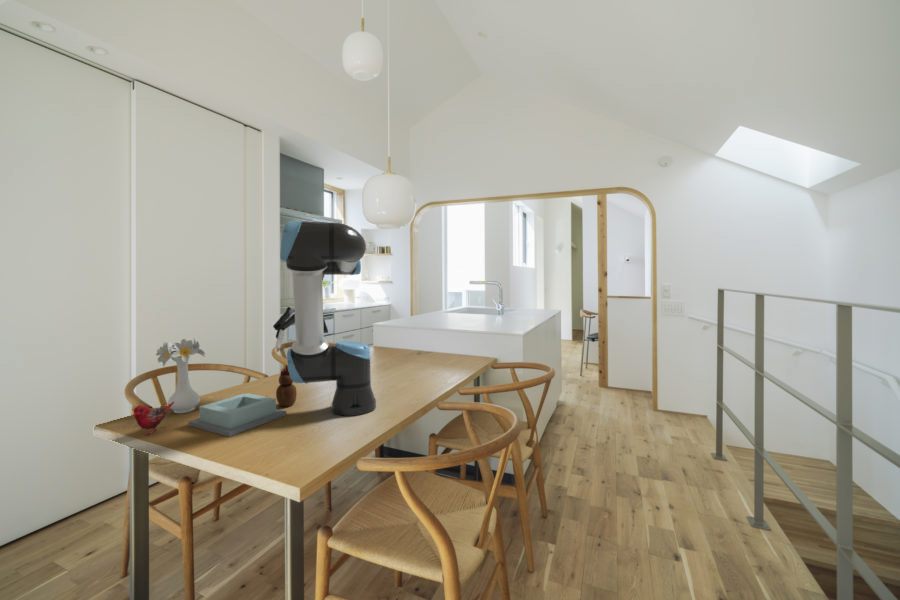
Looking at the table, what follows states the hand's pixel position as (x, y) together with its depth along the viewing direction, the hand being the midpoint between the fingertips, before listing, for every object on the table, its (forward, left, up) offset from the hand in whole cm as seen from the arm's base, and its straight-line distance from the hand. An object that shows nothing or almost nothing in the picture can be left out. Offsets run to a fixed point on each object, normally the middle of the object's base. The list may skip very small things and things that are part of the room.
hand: (296, 347), depth 147 cm
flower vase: (+26, +27, -20) cm, 42 cm away
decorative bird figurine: (+14, +41, -20) cm, 47 cm away
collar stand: (0, +24, -20) cm, 31 cm away
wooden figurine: (-2, +7, -20) cm, 21 cm away
